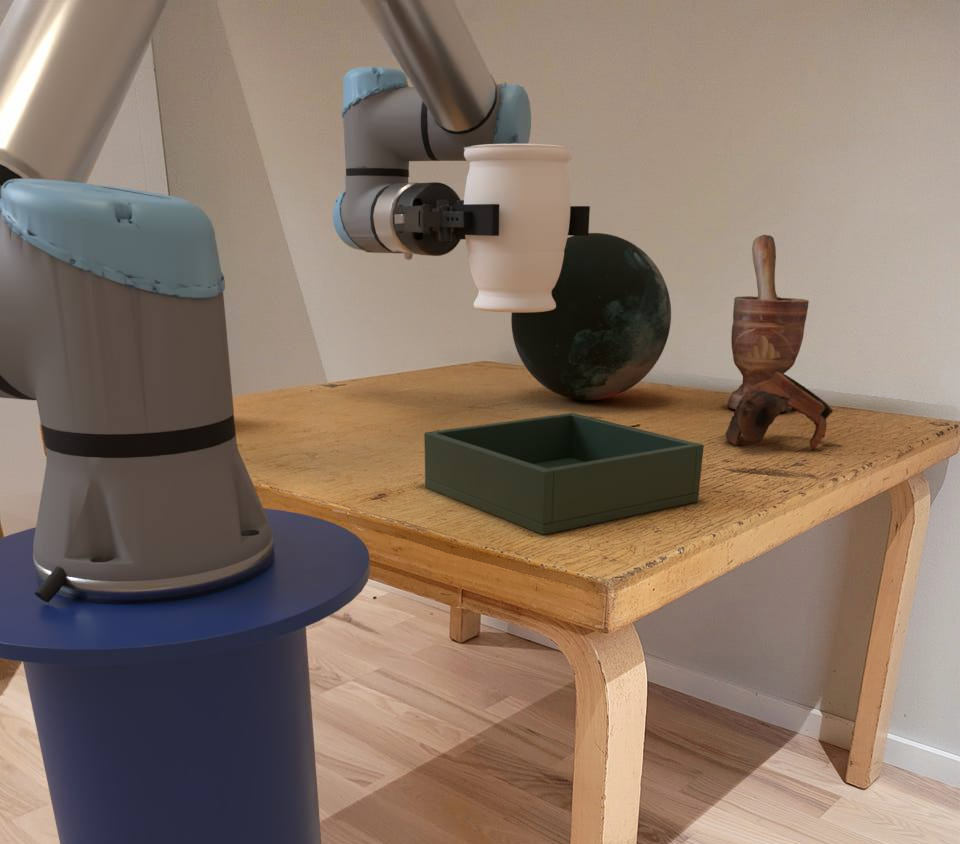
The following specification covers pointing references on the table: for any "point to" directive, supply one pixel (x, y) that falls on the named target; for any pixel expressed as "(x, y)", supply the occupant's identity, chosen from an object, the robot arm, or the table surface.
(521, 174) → the jar
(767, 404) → the brown arched piece
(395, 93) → the robot arm
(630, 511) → the bin
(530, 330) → the decorative sphere
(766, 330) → the mortar and pestle
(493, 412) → the table surface
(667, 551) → the table surface
